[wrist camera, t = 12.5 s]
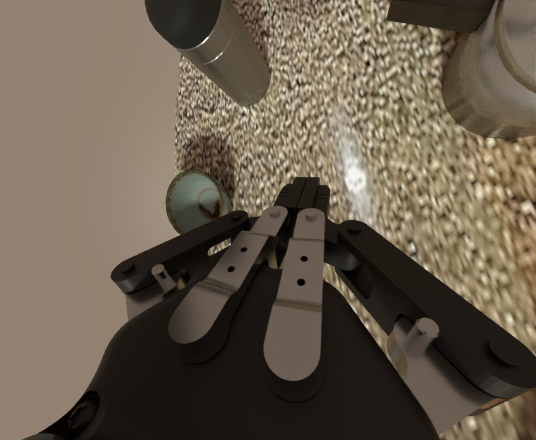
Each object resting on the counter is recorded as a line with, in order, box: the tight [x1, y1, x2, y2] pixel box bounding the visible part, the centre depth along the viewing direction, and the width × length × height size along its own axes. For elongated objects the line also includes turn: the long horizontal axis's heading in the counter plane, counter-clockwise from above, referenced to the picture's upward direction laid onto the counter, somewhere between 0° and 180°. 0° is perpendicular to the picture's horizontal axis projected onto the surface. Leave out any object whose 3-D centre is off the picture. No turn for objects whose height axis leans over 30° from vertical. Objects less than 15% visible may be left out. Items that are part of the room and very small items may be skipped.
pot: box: [386, 0, 536, 139], centre depth 23 cm, size 32×18×12 cm, turn 68°
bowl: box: [166, 170, 230, 235], centre depth 43 cm, size 14×13×8 cm
